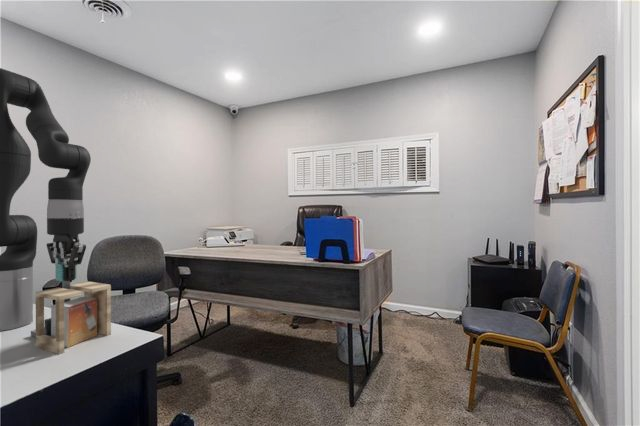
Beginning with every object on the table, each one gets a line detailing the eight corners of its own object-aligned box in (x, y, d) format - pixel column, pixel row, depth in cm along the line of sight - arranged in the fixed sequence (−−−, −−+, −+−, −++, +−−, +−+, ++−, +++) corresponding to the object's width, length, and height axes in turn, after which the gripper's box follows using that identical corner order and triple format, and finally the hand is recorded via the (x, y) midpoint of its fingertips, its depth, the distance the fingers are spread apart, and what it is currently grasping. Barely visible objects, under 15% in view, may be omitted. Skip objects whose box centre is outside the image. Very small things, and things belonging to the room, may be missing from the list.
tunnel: (35, 346, 73) (35, 292, 73) (88, 328, 85) (88, 281, 84) (59, 354, 70) (59, 296, 70) (110, 334, 81) (110, 284, 81)
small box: (67, 348, 73) (67, 307, 73) (50, 346, 74) (50, 305, 74) (98, 335, 81) (98, 297, 80) (81, 333, 82) (81, 296, 82)
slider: (42, 342, 75) (42, 265, 75) (82, 328, 83) (81, 260, 83) (48, 343, 74) (48, 266, 74) (87, 330, 82) (87, 260, 82)
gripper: (33, 216, 77) (33, 280, 77) (65, 217, 72) (65, 286, 72) (66, 216, 84) (66, 275, 84) (97, 216, 79) (97, 279, 79)
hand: (66, 279), depth 78 cm, fingers closed on slider, 2 cm apart
